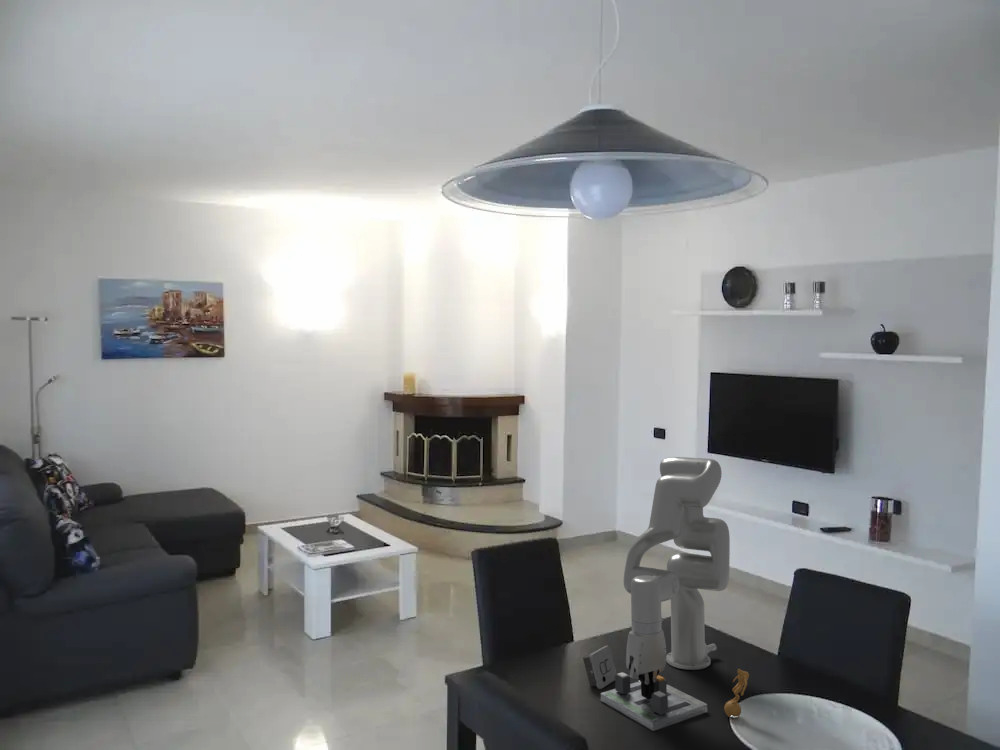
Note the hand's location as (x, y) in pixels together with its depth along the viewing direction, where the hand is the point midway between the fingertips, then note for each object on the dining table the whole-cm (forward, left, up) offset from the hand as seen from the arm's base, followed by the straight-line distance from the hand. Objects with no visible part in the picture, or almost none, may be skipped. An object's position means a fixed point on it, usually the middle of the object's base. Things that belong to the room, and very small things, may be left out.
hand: (647, 696), depth 203 cm
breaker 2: (+2, +7, 0) cm, 7 cm away
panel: (-2, 0, -3) cm, 3 cm away
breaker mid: (-4, 0, 0) cm, 4 cm away
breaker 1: (+2, -7, 0) cm, 7 cm away
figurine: (-15, +16, -3) cm, 22 cm away
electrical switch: (0, -19, -3) cm, 19 cm away
